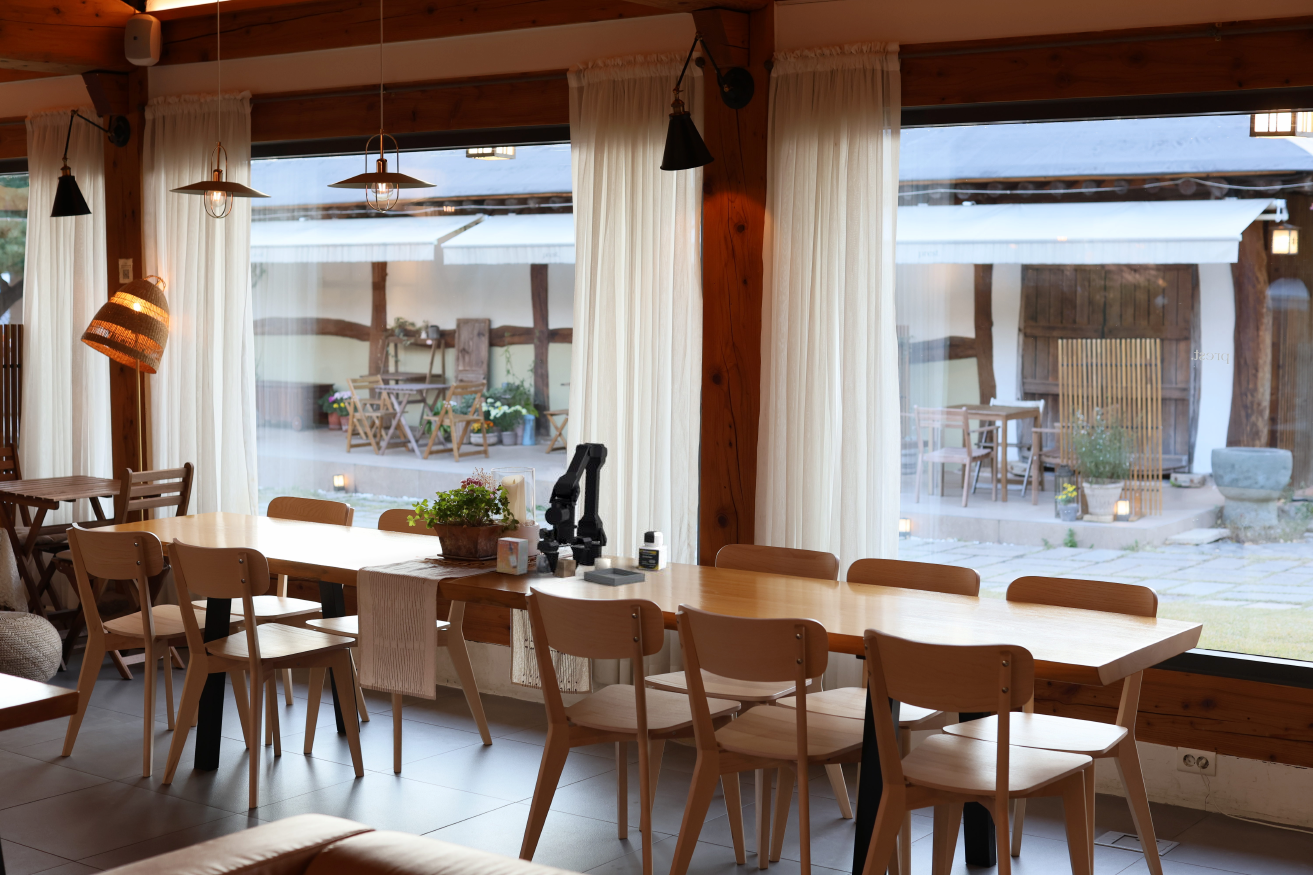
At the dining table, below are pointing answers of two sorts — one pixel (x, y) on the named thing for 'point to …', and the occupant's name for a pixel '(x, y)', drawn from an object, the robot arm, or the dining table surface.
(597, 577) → the gray tray
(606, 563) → the ivory round canister
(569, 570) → the walnut block
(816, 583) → the dining table surface
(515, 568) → the small box
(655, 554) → the medicine bottle
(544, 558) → the slate cylinder
